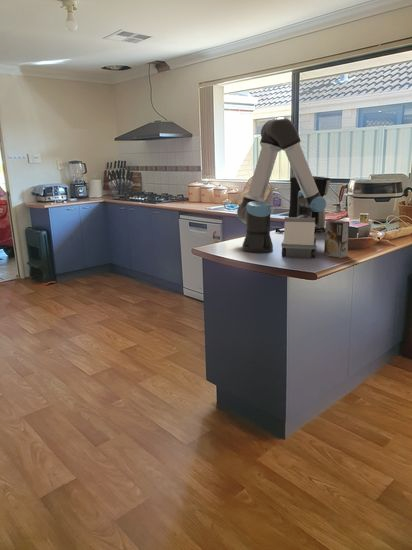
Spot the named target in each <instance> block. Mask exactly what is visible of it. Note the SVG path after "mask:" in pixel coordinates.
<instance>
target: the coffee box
mask: <svg viewBox="0 0 412 550" xmlns="http://www.w3.org/2000/svg"><path fill="white" fill-rule="evenodd" d="M324 228H325V231H324V232H325V233H324V250H323V256H326V257H333V258H339V259H343V258H345V257H348V249H349V248H348V247H349V236H350V235H349V233H350V221H345V220H333V219H331V220H327V221H326V220H325V227H324Z"/></svg>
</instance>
